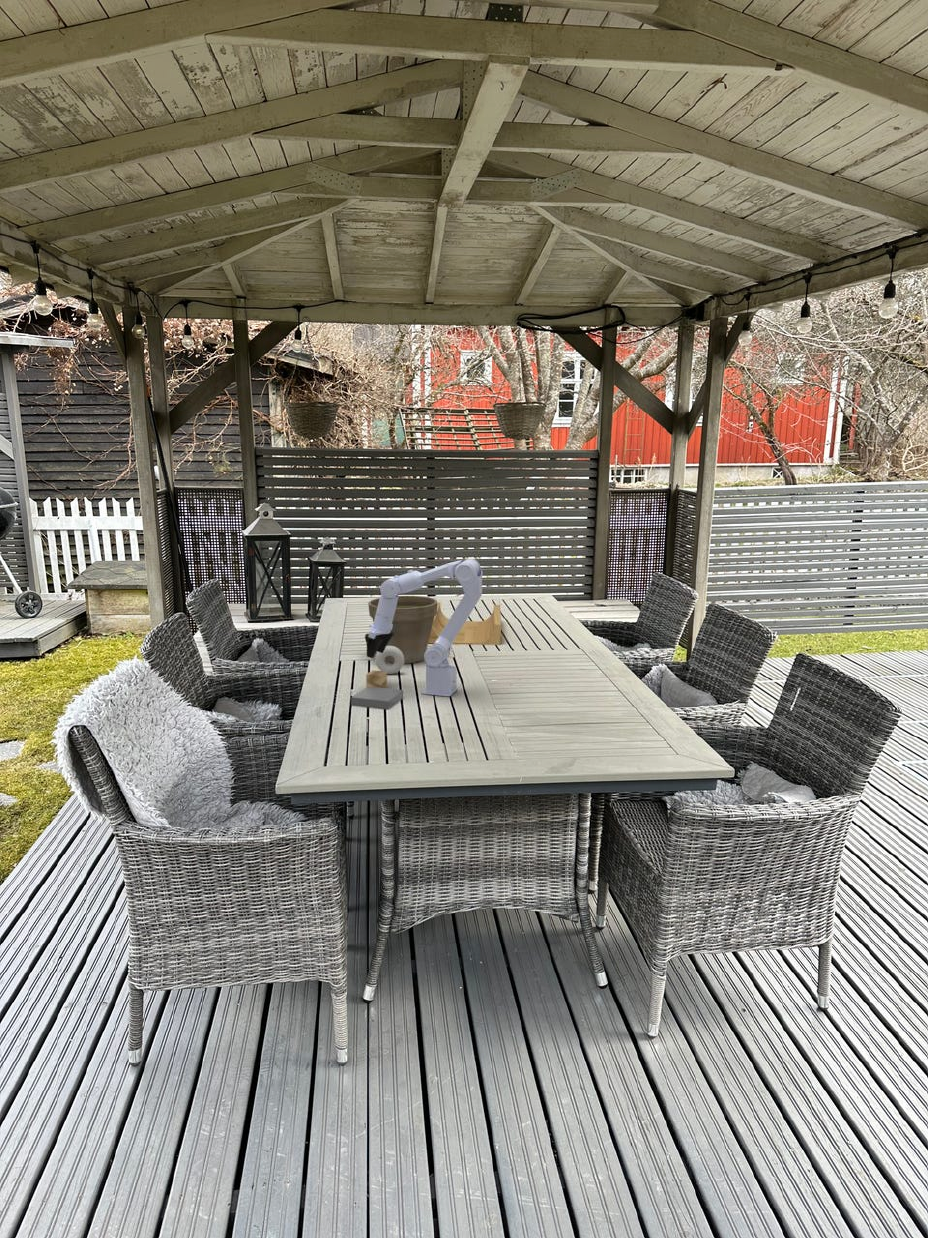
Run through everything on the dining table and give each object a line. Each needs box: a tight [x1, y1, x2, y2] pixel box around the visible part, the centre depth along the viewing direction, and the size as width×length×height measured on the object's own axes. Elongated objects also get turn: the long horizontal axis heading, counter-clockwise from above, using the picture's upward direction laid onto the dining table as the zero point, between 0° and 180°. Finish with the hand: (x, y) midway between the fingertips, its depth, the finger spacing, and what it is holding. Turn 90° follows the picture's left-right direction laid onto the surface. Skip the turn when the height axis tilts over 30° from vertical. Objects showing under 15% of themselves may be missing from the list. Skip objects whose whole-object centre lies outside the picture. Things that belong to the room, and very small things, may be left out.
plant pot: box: [367, 595, 438, 665], centre depth 289 cm, size 25×25×22 cm
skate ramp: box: [428, 597, 502, 646], centre depth 331 cm, size 40×35×16 cm
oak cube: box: [365, 669, 388, 688], centre depth 255 cm, size 5×5×5 cm
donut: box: [374, 646, 405, 675], centre depth 270 cm, size 10×4×10 cm, turn 88°
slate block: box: [350, 686, 404, 711], centre depth 242 cm, size 12×12×3 cm
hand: (374, 654), depth 254 cm, fingers open, 7 cm apart
